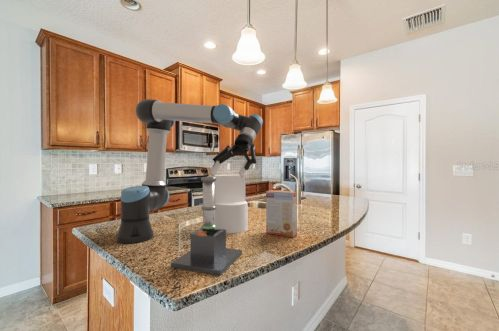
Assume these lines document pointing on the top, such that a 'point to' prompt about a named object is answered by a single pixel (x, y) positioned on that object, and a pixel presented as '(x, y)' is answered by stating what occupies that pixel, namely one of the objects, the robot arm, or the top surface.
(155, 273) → the top surface
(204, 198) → the silver mushroom-headed rod
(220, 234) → the square socket stand
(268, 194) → the cracker box
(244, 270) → the top surface
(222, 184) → the cylinder
